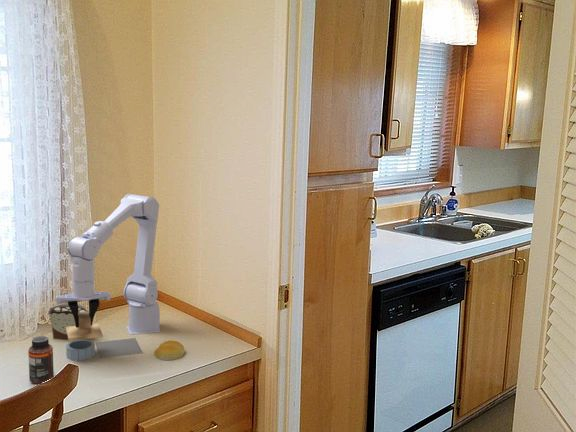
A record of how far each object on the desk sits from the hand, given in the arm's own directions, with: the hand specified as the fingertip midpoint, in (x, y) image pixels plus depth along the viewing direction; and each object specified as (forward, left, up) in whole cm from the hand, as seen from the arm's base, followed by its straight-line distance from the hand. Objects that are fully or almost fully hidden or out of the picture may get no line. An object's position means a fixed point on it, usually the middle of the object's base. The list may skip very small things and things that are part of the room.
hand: (83, 325), depth 173 cm
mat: (-10, -2, -9) cm, 14 cm away
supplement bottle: (+12, +12, -9) cm, 19 cm away
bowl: (+1, 0, -9) cm, 9 cm away
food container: (+2, -15, -9) cm, 18 cm away
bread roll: (-23, +7, -10) cm, 26 cm away
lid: (0, 0, -2) cm, 2 cm away
